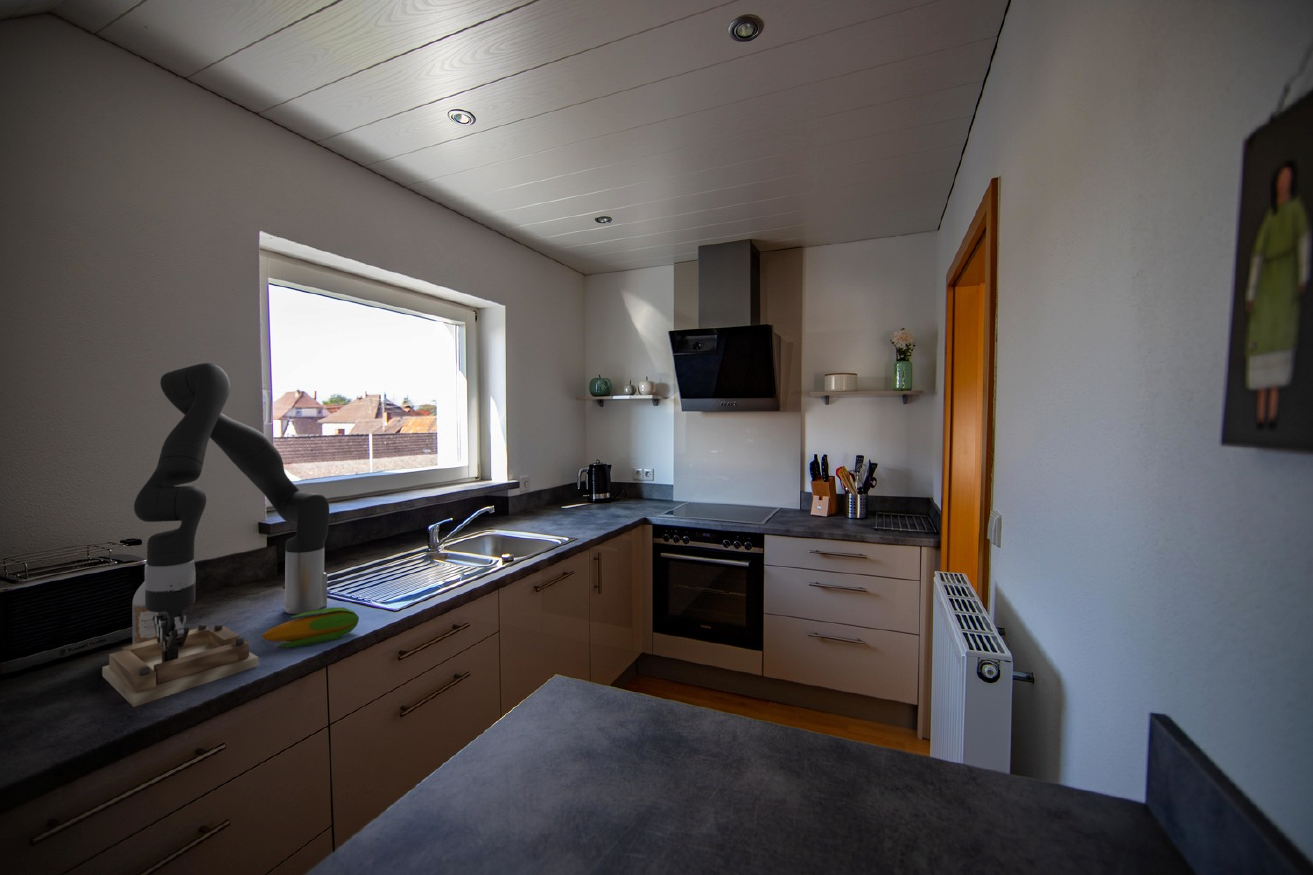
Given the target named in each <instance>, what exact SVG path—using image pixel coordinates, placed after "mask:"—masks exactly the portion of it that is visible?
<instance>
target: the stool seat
mask: <svg viewBox="0 0 1313 875" xmlns="http://www.w3.org/2000/svg"><path fill="white" fill-rule="evenodd" d="M197 627H198V628H194V629H189V633H188V635H187V638H186V640H185V643H184V646H183V647H179V648H178V658H181V657H185V656H188V655H192V654H196V653H200V652H203V651H207V650H211V649H214V648H218V647H222V646H225V645H229V644H233V643H235V642H236V639H237V638H240V635H239V634H238V633H236V632H234V631H233V630H231V629H229V628H227V627H226V626H223V624H222V623H219V624H215V625H214V628H213V629H210V628H209V627H207V624H206V623H201V624H198V626H197ZM108 656H109V658H108V661H109V662H108V665H103V666H102V670H101V671H102V674H101V675H102V677H103V678H104V679H105V680H106V682H108V683H109V684H110V685H111V687H113V688H114V689H115V690H116V691H117V693H119V694H120V696H122V697H123V698H124V699H125V700H126V701H127V702H128V703H129V704H130V705H131V706H132V707H133V708H135V707H138V706H141V705H144V704H147V703H150V702H153V701H156V700H159V699H162V698H165V696H166V697H169V696H171V694H172V695H174V694H177V693H180V692H184V691H186V690H189V689H192V688H195V687H199V686H202V685H205V684H207V683H211V682H213V681H217V680H220V679H223V678H226V677H229V676H232V675H236V674H239V673H241V672H245V671H248V670H251V669H254V668H256V667H259V656H258V655H256V654H254V653H252V652H251V651H249V657H247V658H245V659H243V660H238V661H235V662H231V663H228V664H224V665H221V666H218V667H214V668H211V669H207V670H204V671H201V672H197V673H194V674H190V675H187V676H184V677H180V678H177V679H173V680H170V681H167V682H163V683H160V684H157V683H156V672H155V671H154V665H155V664H159V663H162V649H161V648H160V643H158V642H157V639H154V640H150V641H146V642H142V643H138V644H134V645H133V644H130V645H128V646H127V645H126V646H124V647H122V650H119V651H118V652H117V651H116V652H113V653H109V655H108Z"/></svg>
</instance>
